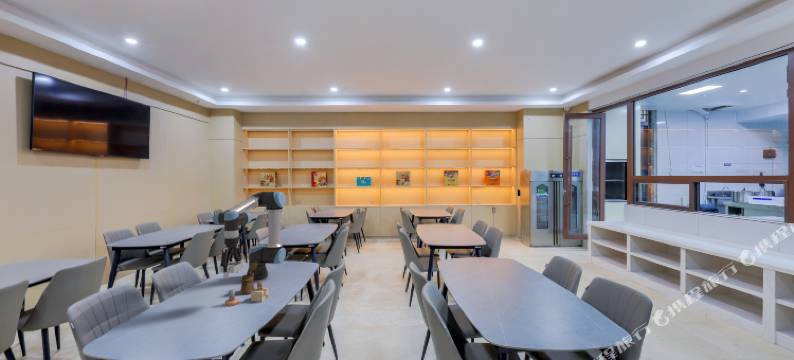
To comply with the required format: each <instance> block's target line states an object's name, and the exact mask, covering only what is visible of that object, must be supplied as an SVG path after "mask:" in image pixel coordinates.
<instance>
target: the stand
mask: <svg viewBox="0 0 794 360" xmlns="http://www.w3.org/2000/svg"><path fill="white" fill-rule="evenodd" d="M256 281H257V280H256ZM268 298H269V287H263V280H258V281H257V282H256V288H255V289H254V290H253V291H251V294H250V302H256V303H257V302H260V303H262V302H264V301H266V299H268Z"/></svg>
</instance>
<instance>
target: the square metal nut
mask: <svg viewBox="0 0 794 360" xmlns="http://www.w3.org/2000/svg"><path fill="white" fill-rule="evenodd" d="M228 266H229V274H235V272H237V271H239V272H240V271H242V270H243V269H244V262H243V261H239V262H236V261H229V263H228ZM218 268H219V269H218V270H219V273H221V274H224V272H223V267H221V266H220V265H219V267H218Z"/></svg>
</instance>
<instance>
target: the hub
mask: <svg viewBox="0 0 794 360" xmlns="http://www.w3.org/2000/svg"><path fill="white" fill-rule="evenodd" d="M235 291H236V290H235V289H234V288H233V289H229V290H228V298H227V299H225V301H224V306H225V307H232V306H233V307H234V306H237V305H238V304H239V301H240V300H239V298H238V297H236V292H235Z"/></svg>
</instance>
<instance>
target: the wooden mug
mask: <svg viewBox="0 0 794 360" xmlns="http://www.w3.org/2000/svg"><path fill="white" fill-rule="evenodd" d="M257 267H258V263H257V262H253V263H252V264H251V265H250V267H249V266H248V269H249V271H250V273H249V274H247V273H246V274H243V275H242V277H241V280H240V281H241V284H240V285H241V286H240V291H239V294H240V295H242V296H245V295H246V296H248V295H251V291H253V290H254V289H256V288H255V285H254V280H253V278H254V273H253V272H254V271H255V270H256V269H257Z"/></svg>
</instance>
